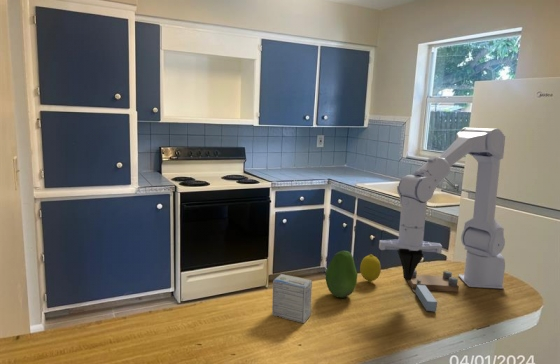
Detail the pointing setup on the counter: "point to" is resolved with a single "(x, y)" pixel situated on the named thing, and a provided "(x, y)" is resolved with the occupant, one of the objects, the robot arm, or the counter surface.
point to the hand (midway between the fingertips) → (407, 278)
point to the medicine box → (292, 298)
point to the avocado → (341, 274)
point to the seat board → (435, 281)
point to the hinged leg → (426, 298)
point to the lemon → (370, 268)
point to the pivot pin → (416, 285)
